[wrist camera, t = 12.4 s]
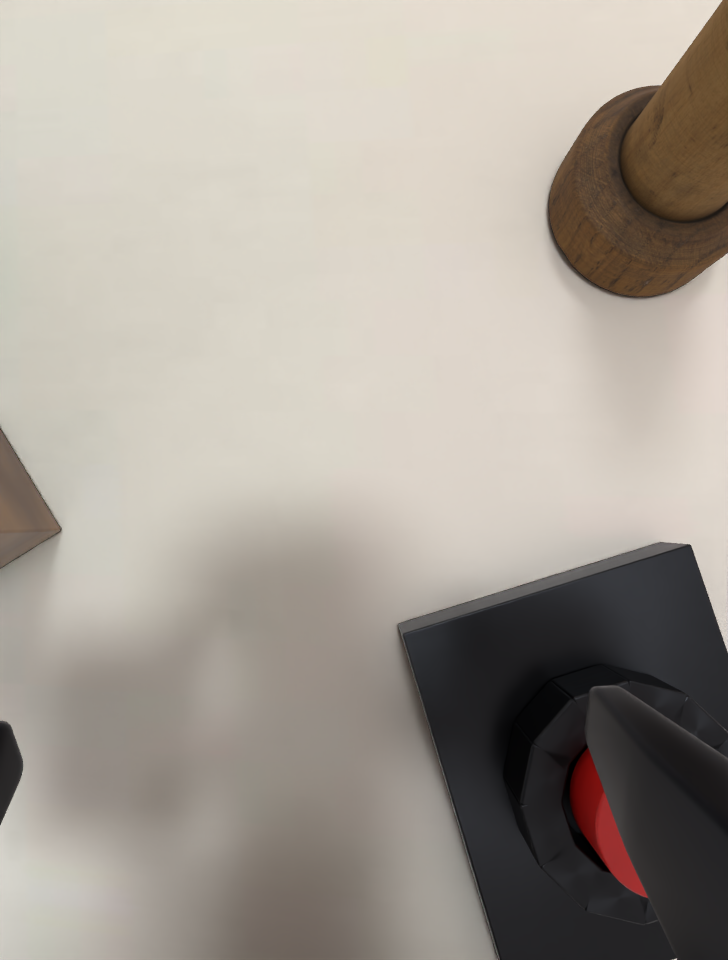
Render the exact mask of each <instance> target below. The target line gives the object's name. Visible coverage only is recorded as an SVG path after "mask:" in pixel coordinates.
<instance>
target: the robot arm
mask: <svg viewBox="0 0 728 960" xmlns="http://www.w3.org/2000/svg"><path fill="white" fill-rule="evenodd" d="M585 738H586V742H587V745H588V748H589V751H590V754H591V756H592V759H593V762H594V765H595V768H596V770H597V773H598V776H599V779H600V781H601V784H602V787H603V790H604V792H605V795H606V798H607V801H608V803H609V806H610V809H611V812H612V814H613V817H614V820H615V823H616V825H617V828H618V831H619V833H620V836H621V839H622V841H623V844H624V846H625V849H626V851H627V853H628V856H629V858H630V860H631V862H632V865H633V867H634V869H635V871H636V873H637V875H638V877H639V880H640V882H641V884H642V886H643V888H644V890H645V892H646V894H647V896H648V899H649V901H650V903H651V905H652V907H653V909H654V911H655V913H656V915H657V918H658V920H659V922H660V924H661V926H662V928H663V930H664V932H665V934H666V937H667V939H668V941H669V943H670V945H671V947H672V949H673V951H674V953H675V956H676V958H677V960H728V758H727V757H725V756H724V755H722V754H721V753H719V752H718V751H716V750H715V749H713V748H712V747H710V746H709V745H707V744H706V743H704V742H703V741H701V740H700V739H698V738H697V737H695V736H694V735H692V734H691V733H689V732H688V731H686V730H685V729H683V728H682V727H680V726H679V725H677V724H676V723H674V722H673V721H671V720H670V719H668V718H667V717H665V716H664V715H662V714H661V713H659V712H658V711H656V710H655V709H653V708H652V707H650V706H649V705H647V704H646V703H644V702H643V701H641V700H640V699H638V698H637V697H635V696H634V695H632V694H631V693H629V692H628V691H626V690H625V689H623V688H621V687H619V686H616V685H609V686H595V687H592V688H591V689H590V691H589V694H588V702H587V710H586V719H585ZM22 772H23V759H22V756H21V753H20V750H19V747H18V745H17V742H16V739H15V736H14V733H13V730H12V727H11V725H10V724H8V723H7V722H5V721H0V825H1V823H2V820H3V818H4V816H5V813H6V811H7V809H8V806H9V804H10V802H11V800H12V797H13V795H14V793H15V790H16V788H17V786H18V784H19V781H20V779H21V776H22Z"/></svg>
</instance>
